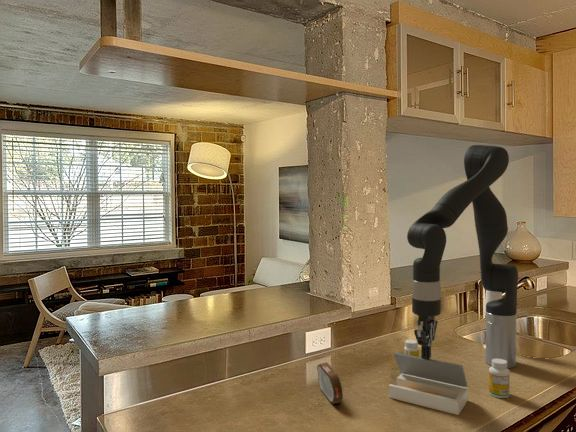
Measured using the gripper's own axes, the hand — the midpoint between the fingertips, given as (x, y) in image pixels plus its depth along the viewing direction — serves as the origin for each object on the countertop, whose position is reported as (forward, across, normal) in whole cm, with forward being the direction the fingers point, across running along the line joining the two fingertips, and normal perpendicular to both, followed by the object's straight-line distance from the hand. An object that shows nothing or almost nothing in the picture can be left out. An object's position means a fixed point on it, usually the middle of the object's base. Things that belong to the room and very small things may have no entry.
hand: (426, 358), depth 127 cm
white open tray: (+12, +2, 0) cm, 12 cm away
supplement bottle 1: (+12, +22, +12) cm, 28 cm away
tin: (+12, -12, +24) cm, 30 cm away
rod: (+12, 0, +2) cm, 12 cm away
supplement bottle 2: (+12, +15, -16) cm, 25 cm away
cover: (+4, +3, 0) cm, 5 cm away
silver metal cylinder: (+12, +55, -7) cm, 57 cm away
